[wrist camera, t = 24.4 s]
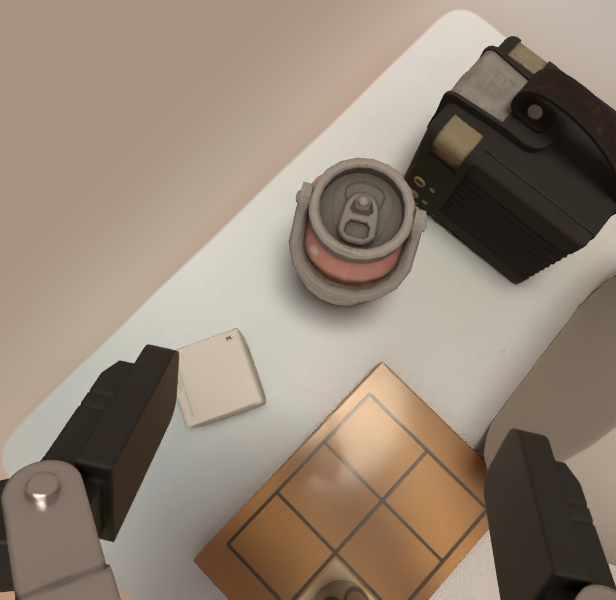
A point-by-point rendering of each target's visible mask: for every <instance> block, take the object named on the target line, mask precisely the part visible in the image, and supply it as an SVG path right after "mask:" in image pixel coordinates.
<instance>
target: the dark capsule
mask: <svg viewBox="0 0 616 600" xmlns="http://www.w3.org/2000/svg"><path fill="white" fill-rule="evenodd" d="M314 600H370V598H369V596H368V595H367V593H366V592H365V591H364V589H363V588H362V587H360V586H359V585H358V584H356V583H354V582H351V581H348V580H336V581H332V582H330V583H328V584H326V585H325V586H324V587H322V588H321V589H320V590H319V592H318V593H317V594H316V596H315V598H314Z"/></svg>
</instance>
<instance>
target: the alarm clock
mask: <svg viewBox="0 0 616 600" xmlns="http://www.w3.org/2000/svg"><path fill="white" fill-rule="evenodd" d="M513 428H515V429H519V430H523V431H528V432H532V433H537V434H541V435H545V436H546V437H547V438H548V440H549V442H550V445H551V449H552V452H553V455H554V458H555V461H559V462H564V463H566V465H567V466H568V467H569V469H570V470H571V471H572V473H573V474H574V475H575V477H576V478H577V479H578V481H579V482H580V484H581V487H582V490H583V493H584V496H585V499H586V501H587V508H589V510H590V513H591V516H592V519H593V525H595V528H596V531H597V533H598V536H599V539H600V542H601V545H602V548H603V551H604V554H605V557H606V560H607V563H608V564H612V565H616V275H615V276H614V277H613V278H612V279H610V280H609V281H608V282H607V283H605V284H604V285H603V286H602V287H600V288H599V289H598V290H597V291H595V292H594V293H593V294H592V295H591V296H590V297H589V298H588V299H587V300H585V301H584V302H583V303H582V304H581V305H580V306H579V308H578V309H577V310H576V312H575V313H574V314H573V316H572V317H571V318H570V320H569V321H568V322H567V323H566V325H565V326H564V327H563V329H562V330H561V331H560V333H559V334H558V335H557V337H556V338H555V339H554V341H553V342H552V343H551V345H550V346H549V347H548V348H547V350H546V351H545V352H544V354H543V355H542V356H541V358H540V359H539V360H538V362H537V363H536V364H535V366H534V367H533V368H532V369H531V371H530V372H529V373H528V375H527V376H526V377H525V379H524V380H523V381H522V383H521V384H520V385H519V387H518V388H517V389H516V391H515V392H514V393H513V394H512V396H511V397H510V398H509V400H508V401H507V402H506V404H505V405H504V406H503V408H502V409H501V410H500V412H499V413H498V414H497V415H496V417H495V418H494V419H493V421H492V423H491V426H490V428H489V431H488V433H487V437H486V443H485V448H484V458H485V463H486V467H487V470H488V468H489V466H490V464H491V462H492V461H493V459H494V457H495V455H496V453H497V451H498V450H499V448H500V446H501V444H502V442H503V441H504V439H505V437H506V435H507V433H508V432H509V431H510V430H511V429H513Z"/></svg>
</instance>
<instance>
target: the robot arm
mask: <svg viewBox="0 0 616 600" xmlns="http://www.w3.org/2000/svg"><path fill="white" fill-rule="evenodd" d="M178 370H179V352H178V351H176V350H171V349H167V348H163V347H158V346H154V345H149V344H148V345H146V346H145V347H144V349H143V350H142V352H141V354H140V355H139V357H138V358H137V360H136V362H135V363H134V364H133V363H129V362H125V361H118V362H117V363H115V364H114V365H112V366H111V367H109V368H108V369H106V370H105V371H103V372H102V373H101V374H100V376H99V377H98V378H97V380H96V381H95V383H94V384H93V386H92V387H91V389H90V392H88V393H87V395H86V396H85V398H84V399H83V400H82V402H81V405H80V406H78V408H77V409H76V411H75V412H74V414H73V415H72V417H71V418H70V419H69V421H68V422H67V424H66V425H65V427H64V428H63V430H62V431H61V433H60V434H59V436H58V437H57V439H56V440H55V441H54V443H53V444H52V446H51V447H50V449H49V450H48V452H47V453H46V455H45V456H44V457H43V458H42V460H41V461H39V462H36V463H33V464H30V465H28V466H26V467H24V468H22V469H20V470H19V471H18V472H16V473H15V474H14V475H13V476H12V477H11V478H9V479H6V480H1V481H0V592H7V591H15V600H121V599H120V596H119V592H118V588H117V585H116V581H115V578H114V575H113V572H112V569H111V567H110V565H109V564H108V565H107V564H106V561H105V559H104V555H103V552H102V548H101V544H100V541H99V539H103V540H107V541H112V542H114V541H115V539H116V536H117V534H118V532H119V530H120V528H121V526H122V524H123V522H124V519H125V517H126V515H127V513H128V511H129V509H130V507H131V504H132V502H133V500H134V498H135V496H136V494H137V492H138V490H139V487H140V485H141V483H142V481H143V479H144V477H145V475H146V472H147V470H148V468H149V466H150V464H151V462H152V460H153V458H154V455H155V453H156V451H157V449H158V447H159V445H160V443H161V440H162V438H163V436H164V434H165V432H166V430H167V428H168V426H169V423H170V421H171V418H172V416H173V412H174V409H175V404H176V398H177V385H178ZM484 500H485V506H486V512H487V518H488V525H489V531H490V537H491V543H492V549H493V556H494V562H495V568H496V574H497V581H498V587H499V593H500V599H501V600H616V586H615V583H614V580H613V577H612V574H611V571H610V568H609V566H608V563H607V560H606V557H605V554H604V551H603V548H602V545H601V542H600V539H599V536H598V533H597V531H596V528H595V525H593V519H592V516H591V513H590V510H589V508H587V501H586V499H585V496H584V493H583V490H582V487H581V484H580V482H579V481H578V479H577V478H576V477H575V475H574V474H573V473H572V471H571V470H570V469H569V467H568V466H567V465H566V463H564V462H559V461H555V458H554V455H553V452H552V449H551V445H550V442H549V440H548V438H547V437H546V436H545V435H541V434H537V433H532V432H528V431H523V430H519V429H515V428H513V429H511V430H510V431H509V432H508V433H507V435H506V437H505V439H504V441H503V442H502V444H501V446H500V448H499V450H498V451H497V453H496V455H495V457H494V459H493V461H492V462H491V464H490V466H489V468H488V470H487V473H486V476H485V481H484Z"/></svg>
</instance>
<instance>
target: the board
mask: <svg viewBox="0 0 616 600" xmlns="http://www.w3.org/2000/svg"><path fill="white" fill-rule="evenodd" d="M486 473H487V467H486V463H485V461H484V460H483V459H482V458H481V457H480V456H479V455H478V454H477V453H476V452H475V451H474V450H473V449H472V448H471V447H470V446H469V445H468V444H467V443H466V442H465V441H464V440H463V439H462V438H461V437H460V436H459V435H458V434H457V433H456V432H454V431H453V430H452V429H451V428H450V427H449V426H448V425H447V424H446V423H445V422H444V421H443V420H442V419H441V418H440V417H439V416H438V415H437V414H436V413H435V412H434V411H433V410H432V409H431V408H430V407H429V406H428V405H427V404H426V403H425V402H423V401H422V400H421V399H420V398H419V397H418V396H417V395H416V394H415V393H414V392H413V391H412V390H411V389H410V388H409V387H408V386H407V385H406V384H405V383H404V382H403V381H402V380H401V379H400V378H399V377H398V376H397V375H396V374H395V373H394V372H392V371H391V370H390V369H389V368H388V367H387V366H386V365H385V364H384V363H383V362H381V363H379V364H378V365H377V366H376V367H375V369H374V370H373V371H372V372H371V373H370V374H369V375H368V376H367V377H366V378H365V379H364V380H363V381H362V382H361V383H360V384H359V385H358V386H357V387H356V388H355V389H354V391H353V392H352V393H351V394H350V395H349V396H348V397H347V398H346V399H345V400H344V401H343V402H342V403H341V404H340V405H339V406H338V407H337V408H336V409H335V410H334V412H333V413H332V414H331V415H330V416H329V417H328V418H327V419H326V420H325V421H324V422H323V423H322V424H321V425H320V426H319V427H318V428H317V429H316V430H315V431H314V432H313V434H312V435H311V436H310V437H309V438H308V439H307V440H306V441H305V442H304V443H303V444H302V445H301V446H300V447H299V448H298V449H297V450H296V451H295V452H294V453H293V454H292V456H291V457H290V458H289V459H288V460H287V461H286V462H285V463H284V464H283V465H282V466H281V467H280V468H279V469H278V470H277V471H276V472H275V473H274V474H273V475H272V477H271V478H270V479H269V480H268V481H267V482H266V483H265V484H264V485H263V486H262V487H261V488H260V489H259V490H258V491H257V492H256V493H255V494H254V495H253V496H252V497H251V499H250V500H249V501H248V502H247V503H246V504H245V505H244V506H243V507H242V508H241V509H240V510H239V511H238V512H237V513H236V514H235V515H234V516H233V517H232V518H231V519H230V521H229V522H228V523H227V524H226V525H225V526H224V527H223V528H222V529H221V530H220V531H219V532H218V533H217V534H216V535H215V536H214V537H213V538H212V539H211V540H210V542H209V543H208V544H207V545H206V546H205V547H204V548H203V549H202V550H201V551H200V552H199V553H198V554H197V555H196V556H195V558H194V562H195V563H196V564H197V565H198V566H199V567H200V568H201V569H202V571H203V572H204V573H205V574H206V575H207V576H208V577H209V578H210V579H211V580H212V581H213V583H214V584H215V585H216V586H217V587H218V588H219V589H220V590H221V591H222V592H223V593H224V594H225V596H226V597H227V598H228V599H229V600H314V598H315V596H316V594H317V593H318V592H319V590H320V589H321V588H322V587H324V586H325V585H326V584H328V583H330V582H332V581H336V580H348V581H351V582H354V583H356V584H358V585H359V586H360V587H362V588H363V589H364V591H365V592H366V593H367V595H368V596H369V598H370V600H429V598H430V597H431V596H432V595H433V594H434V593H435V591H436V590H437V589H438V588H439V587H440V586H441V584H442V583H443V582H444V581H445V580H446V578H447V577H448V576H449V575H450V574H451V573H452V571H453V570H454V569H455V568H456V567H457V566H458V564H459V563H460V562H461V561H462V560H463V558H464V557H465V556H466V555H467V554H468V553H469V551H470V550H471V549H472V548H473V547H474V546H475V544H476V543H477V542H478V541H479V540H480V538H481V537H482V536H483V535H484V534H485V533H486V531H487V530H488V529H489V525H488V518H487V512H486V506H485V500H484V481H485V476H486Z"/></svg>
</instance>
